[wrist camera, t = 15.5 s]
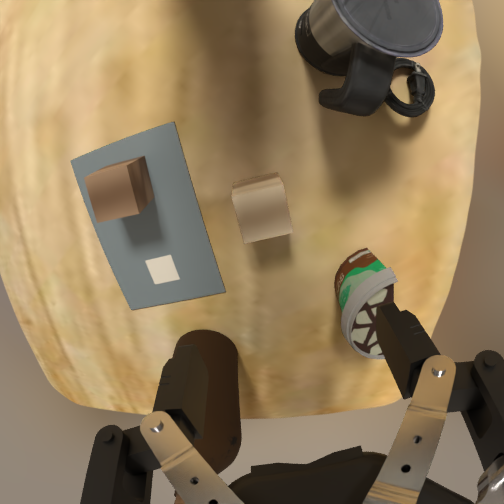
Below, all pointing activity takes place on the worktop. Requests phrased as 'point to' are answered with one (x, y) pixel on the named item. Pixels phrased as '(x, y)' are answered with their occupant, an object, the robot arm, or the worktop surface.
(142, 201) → the walnut block
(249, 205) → the maple block
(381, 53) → the milk frother
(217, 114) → the worktop surface
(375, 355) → the food container
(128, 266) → the mat
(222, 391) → the olive oil
